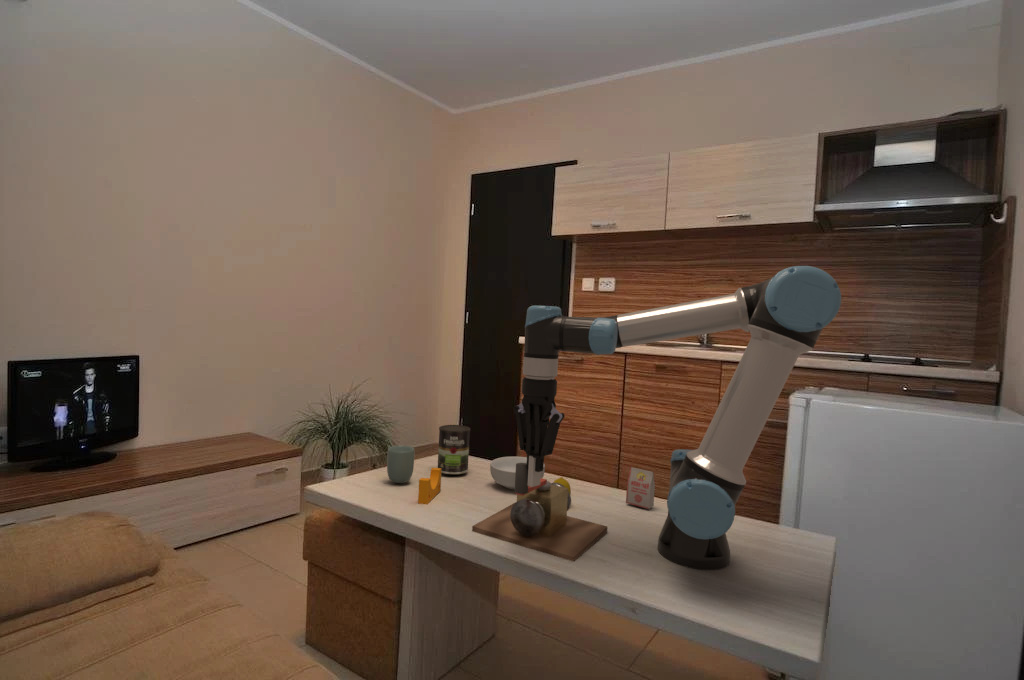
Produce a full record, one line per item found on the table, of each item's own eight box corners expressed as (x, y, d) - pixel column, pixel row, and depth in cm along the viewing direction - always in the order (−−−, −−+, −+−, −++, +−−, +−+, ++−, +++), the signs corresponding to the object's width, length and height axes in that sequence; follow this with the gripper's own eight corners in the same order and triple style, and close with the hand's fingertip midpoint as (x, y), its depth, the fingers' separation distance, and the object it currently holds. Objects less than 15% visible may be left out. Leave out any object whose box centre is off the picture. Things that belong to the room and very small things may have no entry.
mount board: (607, 532, 123) (607, 526, 123) (573, 564, 106) (573, 557, 105) (515, 507, 136) (515, 502, 136) (472, 532, 119) (472, 526, 119)
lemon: (567, 511, 136) (569, 481, 135) (547, 507, 137) (549, 478, 137) (571, 504, 141) (573, 476, 141) (552, 501, 143) (554, 473, 142)
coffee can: (468, 475, 163) (470, 431, 162) (436, 474, 162) (438, 430, 162) (468, 465, 173) (470, 425, 173) (438, 465, 172) (440, 424, 172)
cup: (418, 480, 155) (419, 448, 154) (399, 487, 148) (401, 453, 148) (399, 475, 159) (401, 444, 158) (381, 481, 152) (382, 448, 152)
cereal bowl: (500, 474, 165) (501, 453, 165) (549, 482, 160) (550, 460, 160) (480, 490, 149) (482, 466, 149) (535, 499, 144) (536, 474, 143)
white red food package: (631, 499, 147) (633, 465, 147) (653, 505, 143) (655, 470, 143) (625, 502, 144) (627, 468, 144) (648, 509, 140) (650, 473, 140)
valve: (572, 520, 125) (574, 484, 125) (542, 543, 112) (544, 502, 111) (539, 511, 130) (541, 477, 130) (507, 532, 116) (509, 493, 116)
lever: (540, 484, 123) (541, 453, 123) (553, 487, 121) (555, 455, 121) (510, 498, 112) (512, 464, 111) (524, 502, 110) (526, 467, 109)
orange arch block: (426, 488, 148) (427, 467, 148) (440, 490, 148) (441, 468, 147) (411, 502, 136) (412, 479, 136) (427, 504, 136) (428, 480, 136)
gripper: (574, 379, 107) (568, 489, 108) (529, 373, 116) (523, 474, 117) (552, 381, 102) (545, 496, 103) (506, 374, 111) (500, 480, 112)
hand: (533, 485), depth 110 cm, fingers closed
